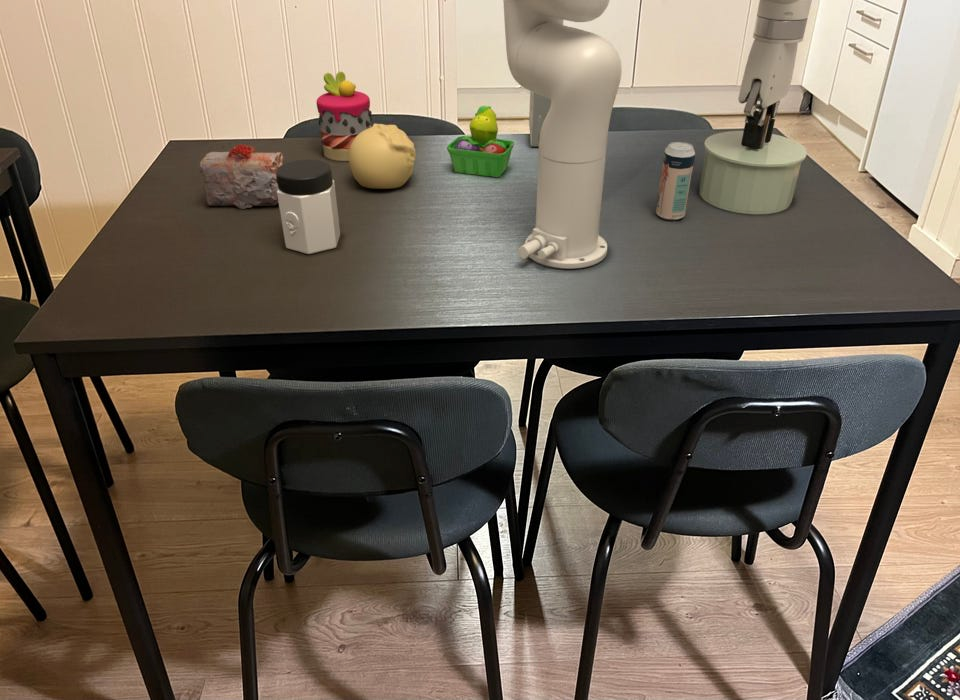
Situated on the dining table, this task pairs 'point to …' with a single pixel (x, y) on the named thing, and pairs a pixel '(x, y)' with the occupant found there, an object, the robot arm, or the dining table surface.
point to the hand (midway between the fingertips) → (755, 142)
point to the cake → (341, 116)
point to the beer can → (675, 180)
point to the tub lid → (767, 155)
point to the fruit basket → (481, 147)
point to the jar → (308, 206)
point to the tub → (747, 186)
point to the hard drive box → (537, 115)
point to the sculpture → (382, 157)
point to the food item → (241, 177)
